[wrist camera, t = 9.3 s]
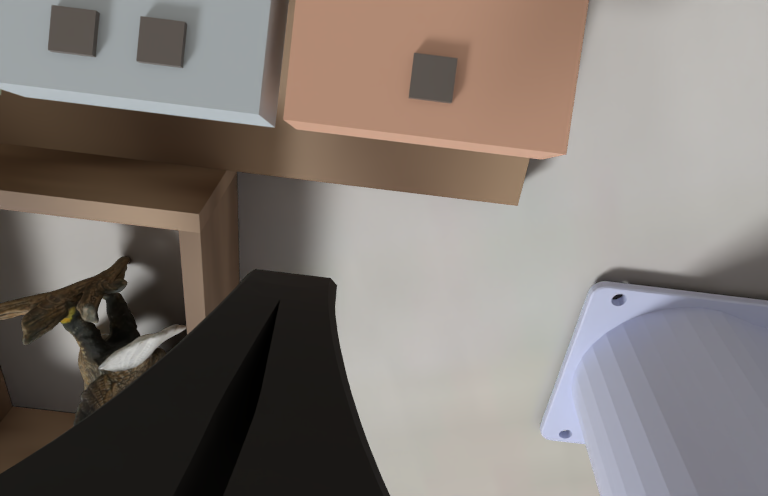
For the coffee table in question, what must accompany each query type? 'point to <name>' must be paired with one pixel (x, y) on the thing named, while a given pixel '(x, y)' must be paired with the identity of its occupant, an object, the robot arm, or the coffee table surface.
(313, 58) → the tile
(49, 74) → the tile
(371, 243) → the coffee table surface
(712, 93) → the coffee table surface
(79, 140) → the board
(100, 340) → the eagle figurine
